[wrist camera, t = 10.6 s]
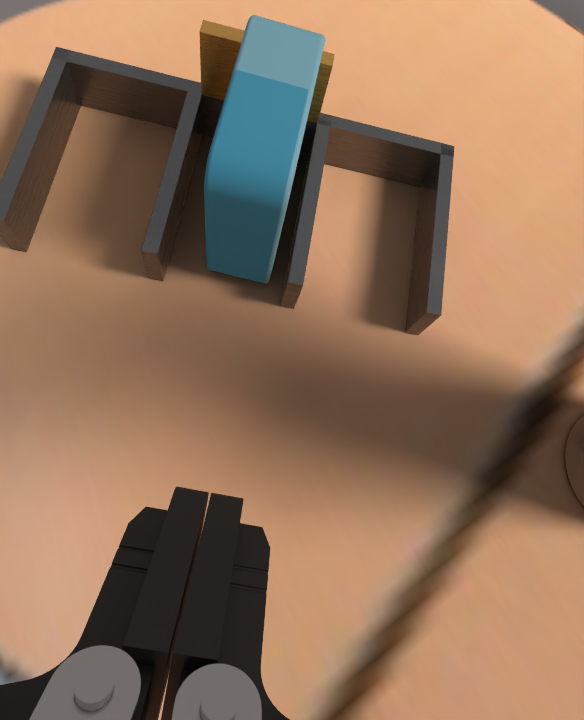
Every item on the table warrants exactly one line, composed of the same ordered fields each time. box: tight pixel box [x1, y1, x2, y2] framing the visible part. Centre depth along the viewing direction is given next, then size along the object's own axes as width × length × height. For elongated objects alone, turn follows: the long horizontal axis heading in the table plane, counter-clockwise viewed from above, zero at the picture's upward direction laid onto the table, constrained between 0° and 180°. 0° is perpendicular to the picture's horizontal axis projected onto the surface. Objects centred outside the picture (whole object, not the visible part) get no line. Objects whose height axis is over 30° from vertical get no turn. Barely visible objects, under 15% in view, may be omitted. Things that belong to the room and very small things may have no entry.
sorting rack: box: [0, 20, 454, 335], centre depth 34 cm, size 30×14×9 cm, turn 81°
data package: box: [204, 15, 325, 283], centre depth 33 cm, size 12×4×12 cm, turn 169°
